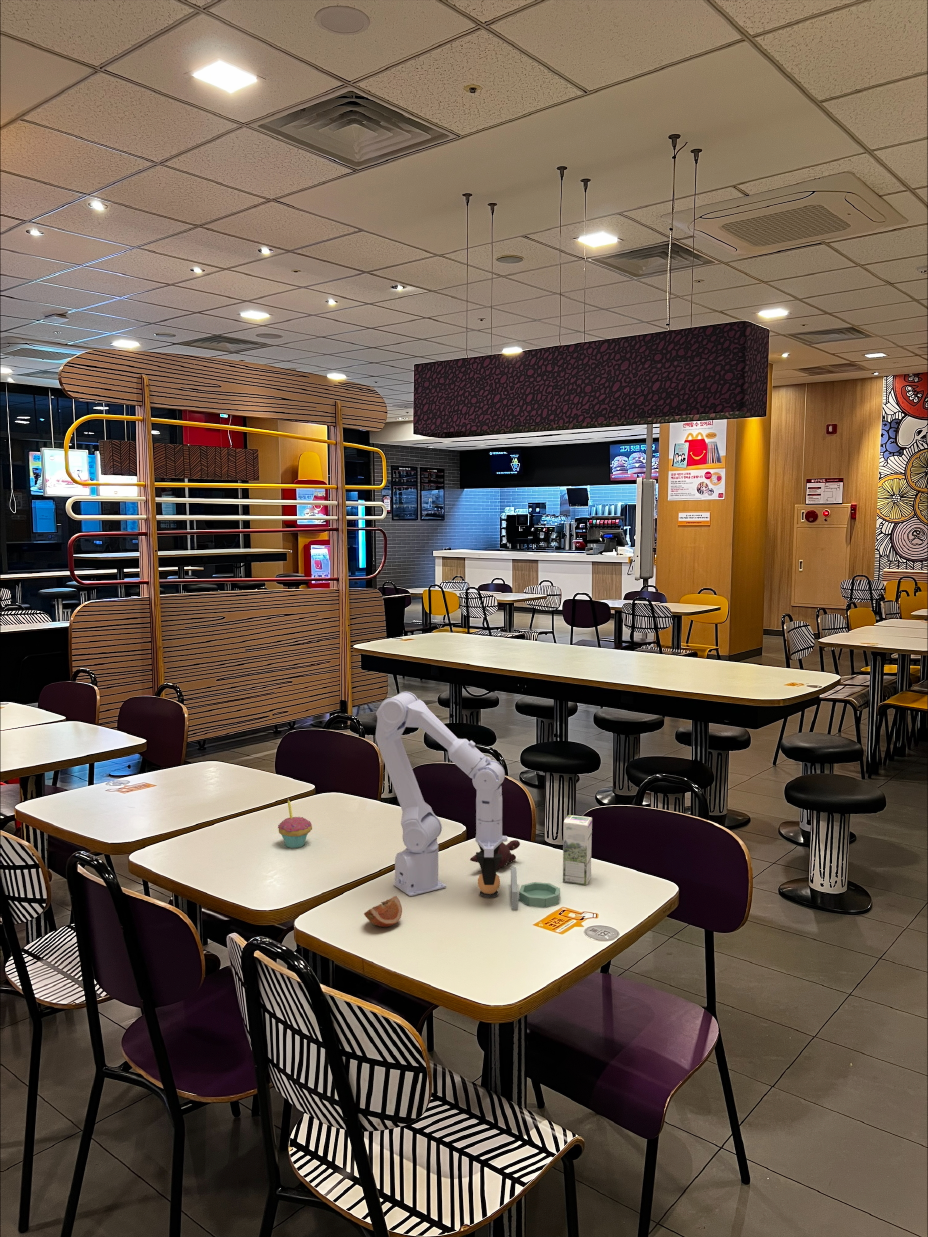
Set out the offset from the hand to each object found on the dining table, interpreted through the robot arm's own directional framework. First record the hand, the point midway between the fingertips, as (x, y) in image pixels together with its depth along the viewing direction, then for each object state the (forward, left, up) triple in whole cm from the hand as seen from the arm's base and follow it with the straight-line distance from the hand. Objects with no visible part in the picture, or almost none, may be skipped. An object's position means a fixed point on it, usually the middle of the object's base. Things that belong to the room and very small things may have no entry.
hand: (489, 877), depth 195 cm
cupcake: (-24, +53, -4) cm, 58 cm away
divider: (+4, -4, -4) cm, 7 cm away
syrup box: (+22, -4, -4) cm, 23 cm away
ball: (0, 0, -1) cm, 1 cm away
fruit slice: (-27, -1, -4) cm, 27 cm away
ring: (0, 0, -4) cm, 4 cm away
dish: (+8, -8, -4) cm, 12 cm away
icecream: (+10, +12, -4) cm, 16 cm away
